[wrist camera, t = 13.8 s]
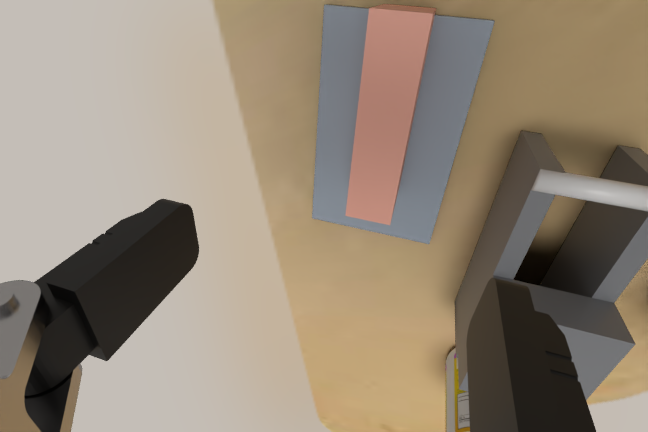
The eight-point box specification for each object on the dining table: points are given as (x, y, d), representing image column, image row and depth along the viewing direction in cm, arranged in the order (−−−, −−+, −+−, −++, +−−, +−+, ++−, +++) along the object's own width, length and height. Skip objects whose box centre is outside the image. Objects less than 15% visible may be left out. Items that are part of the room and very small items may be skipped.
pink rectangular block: (384, 3, 21) (369, 8, 17) (436, 8, 20) (433, 13, 16) (360, 182, 28) (345, 215, 24) (398, 189, 27) (390, 225, 23)
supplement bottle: (493, 392, 37) (510, 550, 26) (433, 364, 37) (428, 510, 27) (535, 359, 33) (575, 530, 23) (468, 328, 33) (477, 483, 23)
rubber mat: (327, 4, 22) (324, 4, 22) (493, 20, 20) (494, 20, 20) (314, 214, 31) (312, 218, 31) (429, 239, 29) (429, 244, 29)
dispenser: (521, 130, 23) (554, 196, 16) (640, 148, 22) (736, 230, 14) (454, 301, 32) (456, 393, 25) (536, 321, 31) (563, 426, 23)
